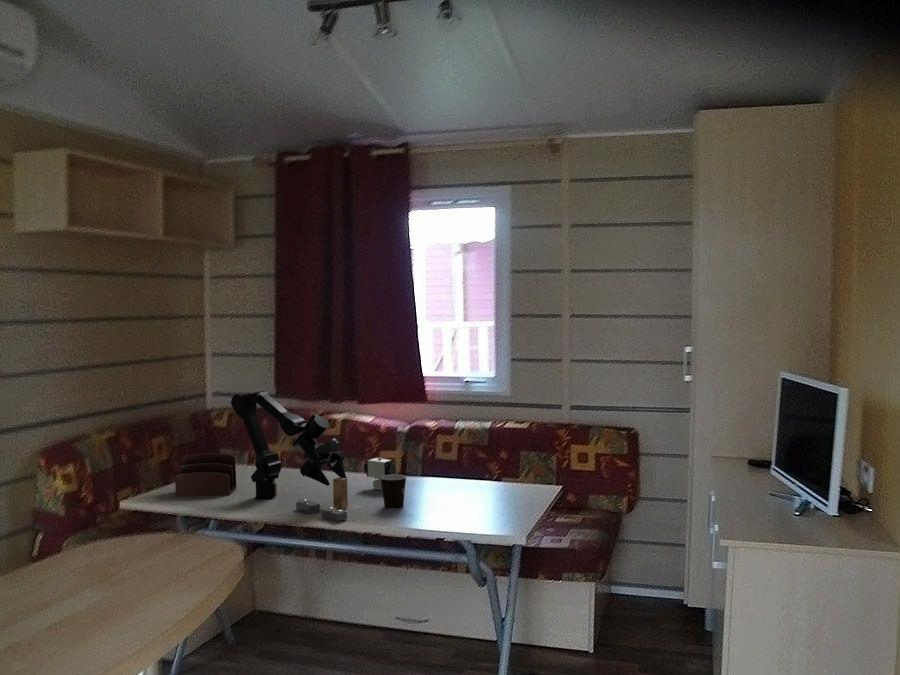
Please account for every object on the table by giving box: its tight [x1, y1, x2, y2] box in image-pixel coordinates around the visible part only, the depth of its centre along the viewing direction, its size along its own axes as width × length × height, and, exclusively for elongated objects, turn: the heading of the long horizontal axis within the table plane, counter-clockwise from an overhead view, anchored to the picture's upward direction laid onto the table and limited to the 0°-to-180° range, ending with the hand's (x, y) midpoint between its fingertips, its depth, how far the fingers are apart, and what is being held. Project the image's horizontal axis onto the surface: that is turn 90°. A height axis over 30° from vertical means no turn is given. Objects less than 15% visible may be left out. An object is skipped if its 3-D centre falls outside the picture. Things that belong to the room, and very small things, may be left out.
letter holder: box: [174, 452, 238, 497], centre depth 291 cm, size 10×20×14 cm, turn 91°
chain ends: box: [295, 498, 348, 523], centre depth 259 cm, size 23×4×3 cm, turn 44°
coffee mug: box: [381, 473, 407, 509], centre depth 266 cm, size 12×9×10 cm
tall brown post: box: [332, 477, 349, 510], centre depth 266 cm, size 4×3×10 cm
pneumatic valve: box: [363, 456, 397, 491], centre depth 293 cm, size 6×12×12 cm, turn 59°
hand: (337, 482), depth 267 cm, fingers open, 9 cm apart
